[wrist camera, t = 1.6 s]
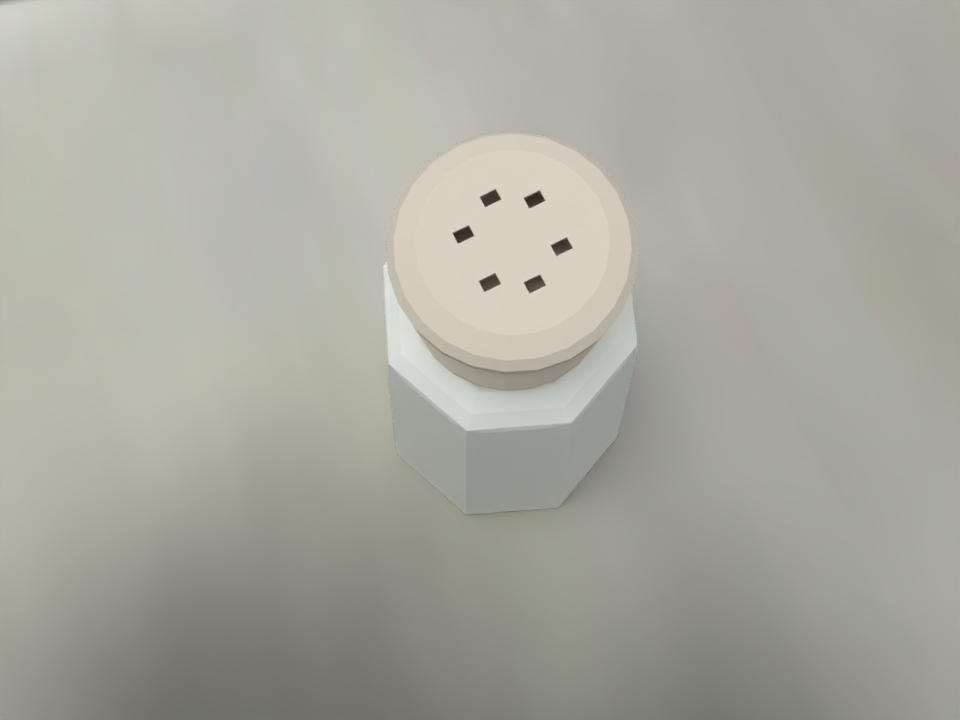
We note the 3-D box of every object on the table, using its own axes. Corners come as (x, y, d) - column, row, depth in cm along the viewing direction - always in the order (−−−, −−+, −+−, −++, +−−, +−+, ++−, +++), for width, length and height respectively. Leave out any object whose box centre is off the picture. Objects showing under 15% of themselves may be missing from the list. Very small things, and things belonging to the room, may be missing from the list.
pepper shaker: (663, 453, 20) (860, 346, 9) (449, 563, 20) (395, 586, 9) (552, 251, 21) (613, -58, 10) (347, 351, 21) (186, 140, 10)
